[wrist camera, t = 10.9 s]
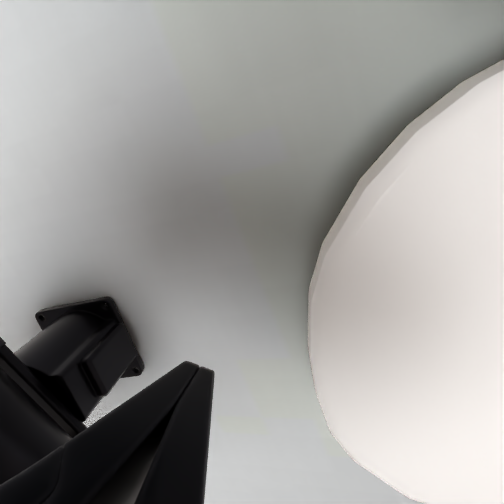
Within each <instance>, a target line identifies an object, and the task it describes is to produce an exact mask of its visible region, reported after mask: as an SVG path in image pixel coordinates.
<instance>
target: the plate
mask: <svg viewBox="0 0 504 504" xmlns="http://www.w3.org/2000/svg"><path fill="white" fill-rule="evenodd" d="M308 352H309V358H310V364H311V370H312V376H313V382H314V386H315V391H316V395H317V397H318V400H319V403H320V406H321V408H322V411H323V414H324V417H325V419H326V422H327V425H328V428H329V430H330V433H331V434H332V435H333V436H334V438H335V439H336V440H337V441H338V443H339V444H340V445H341V446H342V447H343V449H344V450H345V451H346V452H347V453H348V455H349V456H350V457H351V458H352V460H353V461H355V462H356V463H357V464H359V465H360V466H362V467H363V468H365V469H366V470H367V471H369V472H370V473H372V474H373V475H375V476H376V477H378V478H379V479H381V480H382V481H384V482H385V483H386V484H388V485H389V486H391V487H392V488H394V489H395V490H397V491H398V492H400V493H401V494H403V495H404V496H406V497H407V498H409V499H413V500H416V501H419V502H422V503H425V504H504V59H503V60H501V61H499V62H497V63H496V64H494V65H492V66H490V67H488V68H486V69H485V70H483V71H481V72H479V73H477V74H475V75H474V76H472V77H470V78H468V79H466V80H464V81H463V82H461V83H460V84H459V85H458V86H456V87H455V88H454V89H453V90H451V91H450V92H449V93H447V94H446V95H445V96H444V97H442V98H441V99H440V100H439V101H437V102H436V103H435V104H434V105H432V106H431V107H430V108H428V109H427V110H426V111H425V112H423V113H422V114H421V115H420V116H418V117H417V118H416V119H415V120H413V121H412V122H411V123H410V124H408V125H407V126H406V127H405V129H404V130H403V131H402V132H401V133H400V134H399V135H398V136H397V138H396V139H395V140H394V141H393V142H392V143H391V144H390V145H389V147H388V148H387V149H386V150H385V151H384V152H383V153H382V155H381V156H380V157H379V158H378V159H377V160H376V161H375V162H374V164H373V165H372V166H371V167H370V168H369V169H368V170H367V172H366V173H365V174H364V175H363V176H362V177H361V178H360V179H359V181H358V183H357V185H356V186H355V188H354V190H353V191H352V193H351V195H350V197H349V198H348V200H347V202H346V203H345V205H344V207H343V208H342V210H341V212H340V214H339V215H338V217H337V219H336V220H335V222H334V224H333V226H332V227H331V229H330V231H329V232H328V234H327V236H326V238H325V239H324V241H323V243H322V245H321V249H320V252H319V256H318V259H317V263H316V266H315V269H314V273H313V276H312V280H311V283H310V287H309V299H308Z"/></svg>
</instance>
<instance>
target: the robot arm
mask: <svg viewBox="0 0 504 504" xmlns="http://www.w3.org/2000/svg"><path fill="white" fill-rule="evenodd" d="M105 303H106V304H107V305H108V306H106V305H105ZM35 317H36V320H37V322H38V323H39V325H40V327H41V329H42V331H41V332H40V333H39V334H38V335H36V336H35V337H34V338H33V339H31V340H30V341H29V342H28V343H26V344H25V345H24V346H23V347H21V348H20V349H19V350H18V351H16V352H15V353H13V352H12V351H11V350H10V349H9V348H8V347H7V346H6V345H5V344H6V342H5V341H4V340H3V339H2V338H1V337H0V504H204V497H205V484H206V472H207V460H208V448H209V436H210V424H211V411H212V399H213V387H214V371H213V370H210V369H208V368H205V367H199V365H197V364H194V363H192V362H189V361H185V362H183V363H181V364H180V365H178V366H177V367H175V368H174V369H173V370H171V371H170V372H168V373H167V374H165V375H164V376H162V377H161V378H159V379H158V380H156V381H155V382H154V383H152V384H151V385H149V386H148V387H146V388H145V389H143V390H142V391H140V392H139V393H138V394H136V395H135V396H133V397H132V398H130V399H129V400H127V401H126V402H124V403H123V404H121V405H120V406H119V407H117V408H116V409H114V410H113V411H111V412H110V413H108V414H107V415H105V416H104V417H103V418H101V419H100V420H98V421H97V422H95V423H94V424H92V425H91V426H89V427H88V428H87V427H86V426H85V425H84V424H83V423H82V422H84V421H85V420H86V419H87V418H88V416H89V415H90V414H91V412H92V411H93V410H94V408H95V407H96V406H97V404H98V403H99V402H100V400H101V399H102V398H103V396H107V395H108V393H109V392H110V391H111V389H112V388H113V387H114V385H115V384H116V383H117V381H118V380H119V378H124V377H132V376H139V375H141V374H142V372H143V371H144V365H143V363H142V361H141V359H140V357H139V355H138V353H137V350H136V348H135V346H134V344H133V342H132V340H131V337H130V335H129V333H128V331H127V329H126V327H125V325H124V322H123V320H122V318H121V316H120V314H119V312H118V309H117V307H116V305H115V303H114V301H113V300H112V299H111V298H109V297H103V298H98V299H93V300H88V301H83V302H78V303H72V304H67V305H62V306H57V307H52V308H47V309H42V310H40V311H39V312H37V313H36V315H35ZM136 368H137V369H136Z"/></svg>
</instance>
